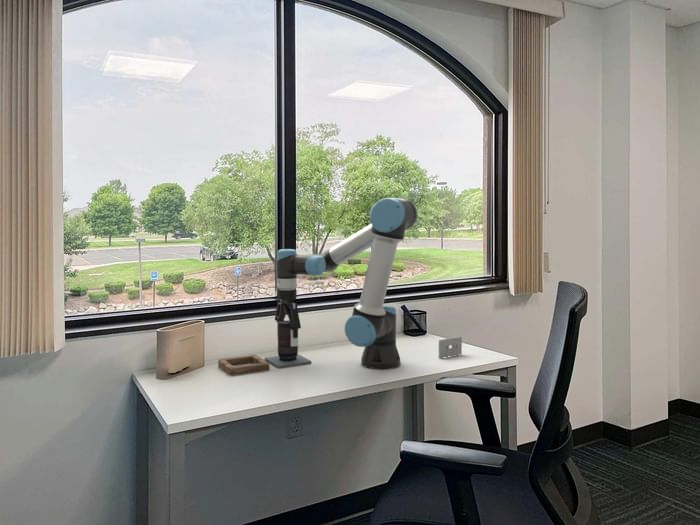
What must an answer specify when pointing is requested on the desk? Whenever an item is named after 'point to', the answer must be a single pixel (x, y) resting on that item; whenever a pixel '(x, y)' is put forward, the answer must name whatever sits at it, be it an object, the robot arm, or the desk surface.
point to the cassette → (446, 351)
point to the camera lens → (285, 342)
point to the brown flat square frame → (256, 367)
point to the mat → (281, 364)
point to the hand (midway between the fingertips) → (287, 342)
